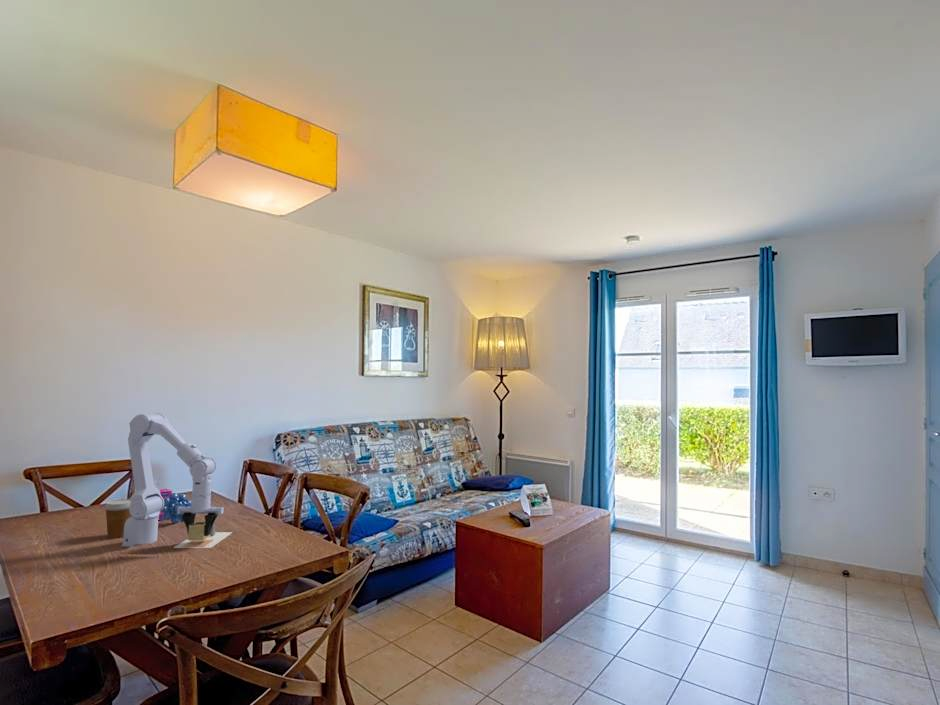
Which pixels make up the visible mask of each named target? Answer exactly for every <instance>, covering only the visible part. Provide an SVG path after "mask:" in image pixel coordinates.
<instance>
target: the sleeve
mask: <svg viewBox="0 0 940 705" xmlns="http://www.w3.org/2000/svg"><path fill="white" fill-rule="evenodd" d="M205 528H206V524H205V521H200V520H199V521H198V520H197V521H196V520H195V521H194V523H192V524H190V525H189V533H188V532H187V539H188V540H192V541H203V540H205V539H207V538H208V537H210V535H208V536H205Z"/></svg>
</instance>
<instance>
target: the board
mask: <svg viewBox="0 0 940 705" xmlns="http://www.w3.org/2000/svg"><path fill="white" fill-rule="evenodd" d="M216 527H217V525H216V524H213V526H212V529H211V532H210V537H208V538H207V539H205V540H203V541H192V540H188V538H187V539H185V540H184V541H182V542H180V543H179V544H176V545H175V546H173V549H174V548H175V549H211V548H213V547H215V546H216V545H217V544H219V543H221V541H224V539H226V538H227V537H229V536H230V535H231V534H233V531H231V532H230V531H227V532H226V531H221V532H220V531H219V532H218V531H216Z"/></svg>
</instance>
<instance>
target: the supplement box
mask: <svg viewBox="0 0 940 705" xmlns="http://www.w3.org/2000/svg"><path fill="white" fill-rule="evenodd" d="M159 490H160V494H161V496H162V498H165V497H169V498H170V495H171V494H172V493H173V490H170V489H167V488H162V489H159ZM164 505H165V504H164ZM163 514H164V513H163V512H161V511H160V514H159V519H158V520H160V521H165V520H164V518H163Z"/></svg>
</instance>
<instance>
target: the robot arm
mask: <svg viewBox="0 0 940 705" xmlns="http://www.w3.org/2000/svg"><path fill="white" fill-rule="evenodd" d="M128 424H129V433H128V438H127V441H128V450H129V455H130V463H131V469H132V475H133V476H132V477H133V482H134V483H133V484H134V489H135V491H134V493H133V494H132V495H131V496H130V498H129V499H130V500H131V504H130V507H129V512H130V515H131V516H132V517H130V518H128V519H127V520H126V522H125V525H124V534H123V537H122V544H121V546H120V547H121V548H122V547H132V548H133V547H134V546H135V545H146V544H147V545H148V544H153V543H154V542H157V541H158V528H159V521H158V519H159V514H160V511H161V510H162V509H163V507H164V499H163V498H162V496H161V494H160V489H159V488H157V487H156V486H155V483H154V475H153V470H152V469H153V468H152V463H151V462H152V461H151V457H150V449H149V441H150V440H151V439H152V437H153V436H154V435H159V436H161V437H162V438H163V439H164V440H165V441H167V442H168V443H169V444H170V445H171V446H172V447H173V448H175V450H177V451H176V455H177V456H178V457H179V458H180V460H182V462H183V463H185V465H187V467H188V468H189V473H190V475H191V476H192V480H191V481H192V489H191V490H192V491H191V501H192V505H191V507H179V508H177V514H181V513H183V514H184V515H183V516H182V519H183V521H182V522H183V523H184V526H185V527H186V532H187V534H188V533H189V525H190V524H192V523H194V522H195V521H196V520H195V519H196V515H197V514H203V515H204V514H206V515H204V520H205V524H206V528H205V536H208V535H210V532H211V529H212V526H213V525H214V524H215V521H216V519H217V517H218V516H219V515H222V514H224V510H225V509H224V508H225V506H212V505H211V500H212V483H213V482H212V481H213V473H214V472H215V471H216V468H217V464H216V461H215V460H214V458H211V457H207V456H206V454H204V453H202V452H201V451H200V450H199V448H197V447H198V445H196V443H192V442H187V441H185V439H184V438H183V437H182V436H181V435H180V434H179V433H178V432H177V431H176V429H175V428H174V427H173V426H172V425H171V422H170V420H169V419H168V418H167V417H166V416H165V415H164V414H163V413H161V412H157V413H155V412H154V413H148V414H143V413H142V414H141V413H140V414H137V415H135V416H134V417H133V418H132V419H131V421H130V422H129V423H128Z"/></svg>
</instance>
